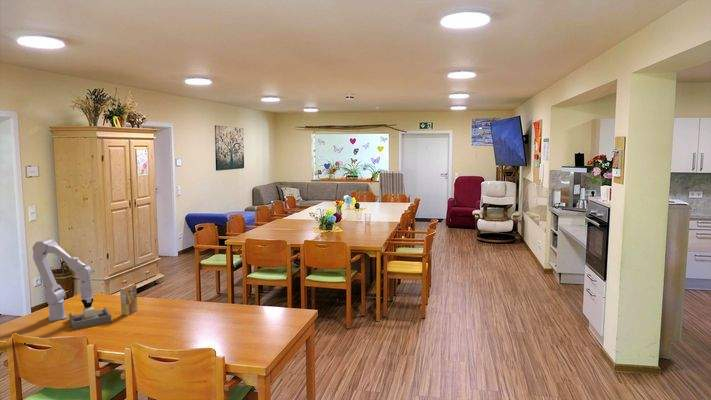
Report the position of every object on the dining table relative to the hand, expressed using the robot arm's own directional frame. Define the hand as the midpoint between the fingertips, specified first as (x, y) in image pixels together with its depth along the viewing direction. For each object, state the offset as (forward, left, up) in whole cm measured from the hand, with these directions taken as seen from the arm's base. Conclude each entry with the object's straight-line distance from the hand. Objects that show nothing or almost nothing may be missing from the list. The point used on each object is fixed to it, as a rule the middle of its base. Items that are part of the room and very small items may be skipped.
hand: (88, 311), depth 271 cm
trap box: (+6, 0, -3) cm, 7 cm away
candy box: (+6, +20, -3) cm, 21 cm away
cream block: (+4, 0, -1) cm, 4 cm away
